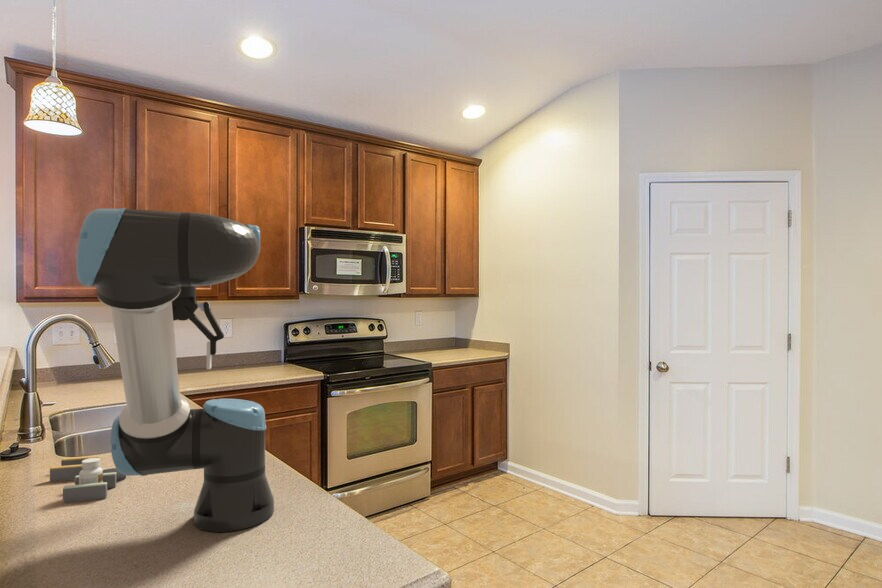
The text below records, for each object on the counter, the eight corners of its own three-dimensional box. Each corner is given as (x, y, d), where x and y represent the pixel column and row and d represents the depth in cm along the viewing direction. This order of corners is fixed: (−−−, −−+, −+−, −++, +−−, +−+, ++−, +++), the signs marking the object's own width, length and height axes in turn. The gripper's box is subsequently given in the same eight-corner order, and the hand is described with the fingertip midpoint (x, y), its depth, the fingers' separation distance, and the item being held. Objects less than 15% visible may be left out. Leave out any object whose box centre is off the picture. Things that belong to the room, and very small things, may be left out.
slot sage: (105, 498, 112) (105, 483, 112) (63, 502, 110) (63, 487, 110) (116, 486, 119) (116, 472, 119) (76, 489, 117) (76, 475, 117)
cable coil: (121, 483, 121) (121, 476, 121) (87, 486, 119) (87, 479, 119) (129, 473, 128) (129, 466, 128) (97, 476, 126) (97, 469, 126)
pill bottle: (104, 494, 115) (105, 459, 115) (81, 500, 112) (81, 464, 112) (99, 489, 118) (99, 455, 118) (76, 494, 115) (76, 460, 115)
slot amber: (88, 478, 124) (88, 465, 124) (49, 481, 122) (49, 468, 122) (99, 468, 131) (99, 455, 131) (62, 471, 129) (62, 458, 129)
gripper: (235, 282, 131) (235, 365, 131) (124, 281, 123) (124, 369, 123) (232, 282, 123) (232, 369, 124) (114, 281, 116) (114, 374, 116)
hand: (178, 369), depth 123 cm, fingers open, 13 cm apart
